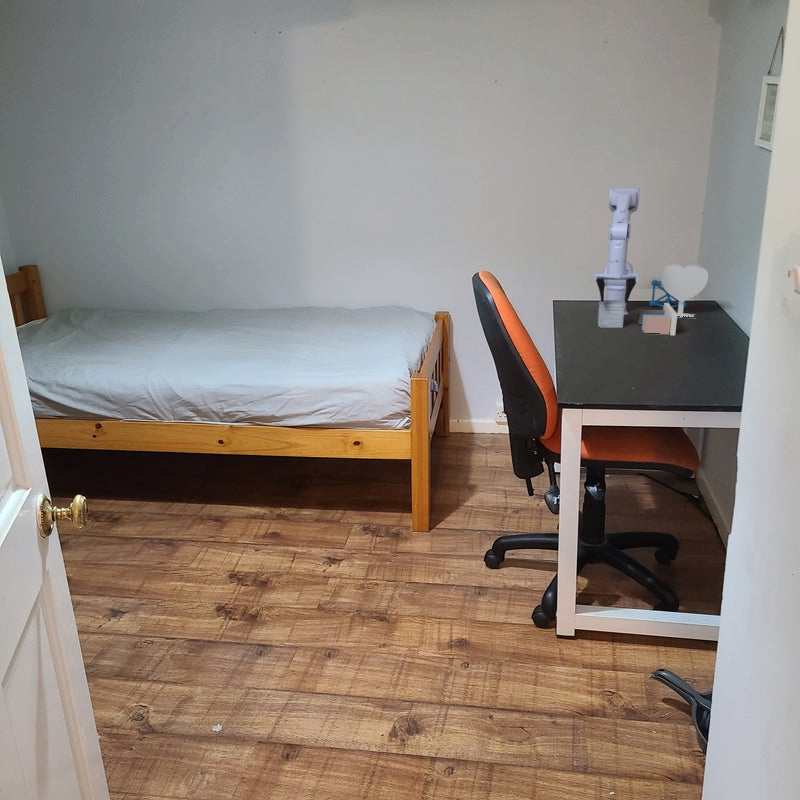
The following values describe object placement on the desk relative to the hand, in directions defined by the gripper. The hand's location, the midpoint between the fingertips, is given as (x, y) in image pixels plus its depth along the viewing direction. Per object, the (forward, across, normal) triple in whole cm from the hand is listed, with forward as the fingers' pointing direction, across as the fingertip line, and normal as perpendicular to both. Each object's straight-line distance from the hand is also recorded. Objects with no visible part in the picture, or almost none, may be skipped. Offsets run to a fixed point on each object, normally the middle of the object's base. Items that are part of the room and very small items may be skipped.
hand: (614, 301), depth 265 cm
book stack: (+10, +15, +4) cm, 18 cm away
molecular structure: (+10, +24, +35) cm, 44 cm away
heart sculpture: (+10, +26, +22) cm, 36 cm away
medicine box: (+10, 0, +5) cm, 11 cm away
